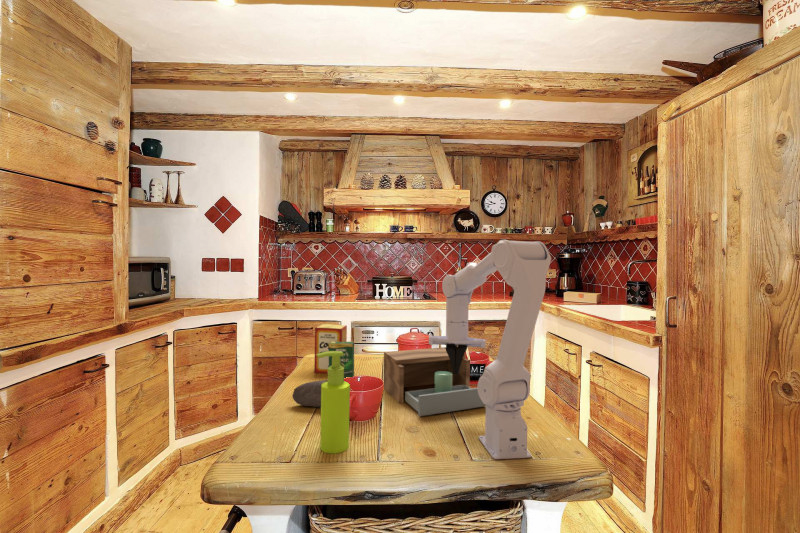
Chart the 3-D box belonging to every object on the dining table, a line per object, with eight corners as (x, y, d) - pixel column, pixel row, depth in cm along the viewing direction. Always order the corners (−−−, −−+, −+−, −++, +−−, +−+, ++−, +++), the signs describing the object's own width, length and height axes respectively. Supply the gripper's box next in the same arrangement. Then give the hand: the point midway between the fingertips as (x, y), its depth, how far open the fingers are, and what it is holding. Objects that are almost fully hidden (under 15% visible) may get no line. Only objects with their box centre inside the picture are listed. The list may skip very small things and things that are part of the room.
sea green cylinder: (451, 402, 103) (452, 376, 103) (433, 401, 104) (434, 375, 104) (452, 396, 108) (452, 371, 108) (434, 395, 108) (435, 370, 108)
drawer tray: (488, 405, 104) (489, 387, 104) (419, 416, 96) (419, 396, 96) (466, 392, 114) (467, 375, 114) (402, 401, 106) (402, 383, 106)
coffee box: (327, 384, 121) (328, 342, 121) (329, 381, 124) (330, 340, 124) (352, 385, 121) (353, 343, 120) (354, 382, 124) (355, 341, 123)
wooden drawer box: (469, 393, 115) (470, 356, 115) (399, 403, 106) (400, 362, 106) (447, 380, 127) (448, 347, 126) (383, 388, 118) (383, 352, 118)
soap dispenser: (313, 443, 82) (314, 349, 82) (345, 438, 85) (346, 347, 84) (317, 456, 77) (319, 356, 76) (351, 451, 79) (353, 354, 79)
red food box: (346, 368, 138) (346, 324, 138) (341, 374, 132) (341, 327, 132) (320, 367, 140) (321, 323, 139) (314, 372, 133) (315, 326, 133)
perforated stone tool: (289, 409, 101) (289, 382, 100) (295, 402, 106) (295, 376, 106) (346, 410, 100) (347, 384, 100) (349, 403, 105) (350, 378, 105)
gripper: (486, 320, 102) (485, 371, 102) (432, 317, 106) (431, 367, 106) (485, 324, 95) (484, 379, 95) (427, 321, 99) (426, 374, 99)
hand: (456, 373), depth 100 cm, fingers closed
